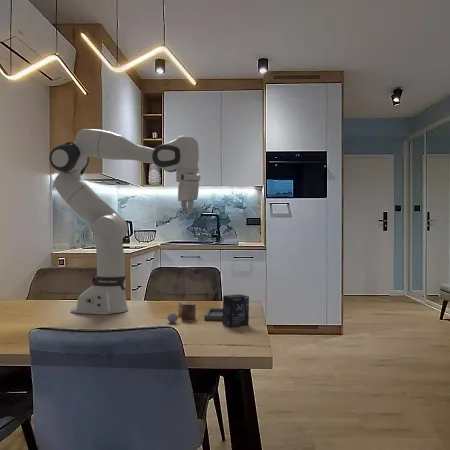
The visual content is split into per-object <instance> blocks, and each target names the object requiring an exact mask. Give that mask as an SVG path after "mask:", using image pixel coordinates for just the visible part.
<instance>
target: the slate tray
mask: <svg viewBox="0 0 450 450" xmlns="http://www.w3.org/2000/svg"><path fill="white" fill-rule="evenodd" d="M203 317H204V321H215V322H216V321H217V322H218V321H220V322H221V321H222V322H223V307H222V308H221V307H220V308H217V307H213V308H212V307H208V308H207V310H206V312H205V314H204V316H203Z"/></svg>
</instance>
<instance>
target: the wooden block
mask: <svg viewBox="0 0 450 450" xmlns="http://www.w3.org/2000/svg"><path fill="white" fill-rule="evenodd" d="M183 303H190V302H189V301H178V304H177V307H178V308H177V309H178V311H177V312H178V313H177V317H182V304H183Z"/></svg>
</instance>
